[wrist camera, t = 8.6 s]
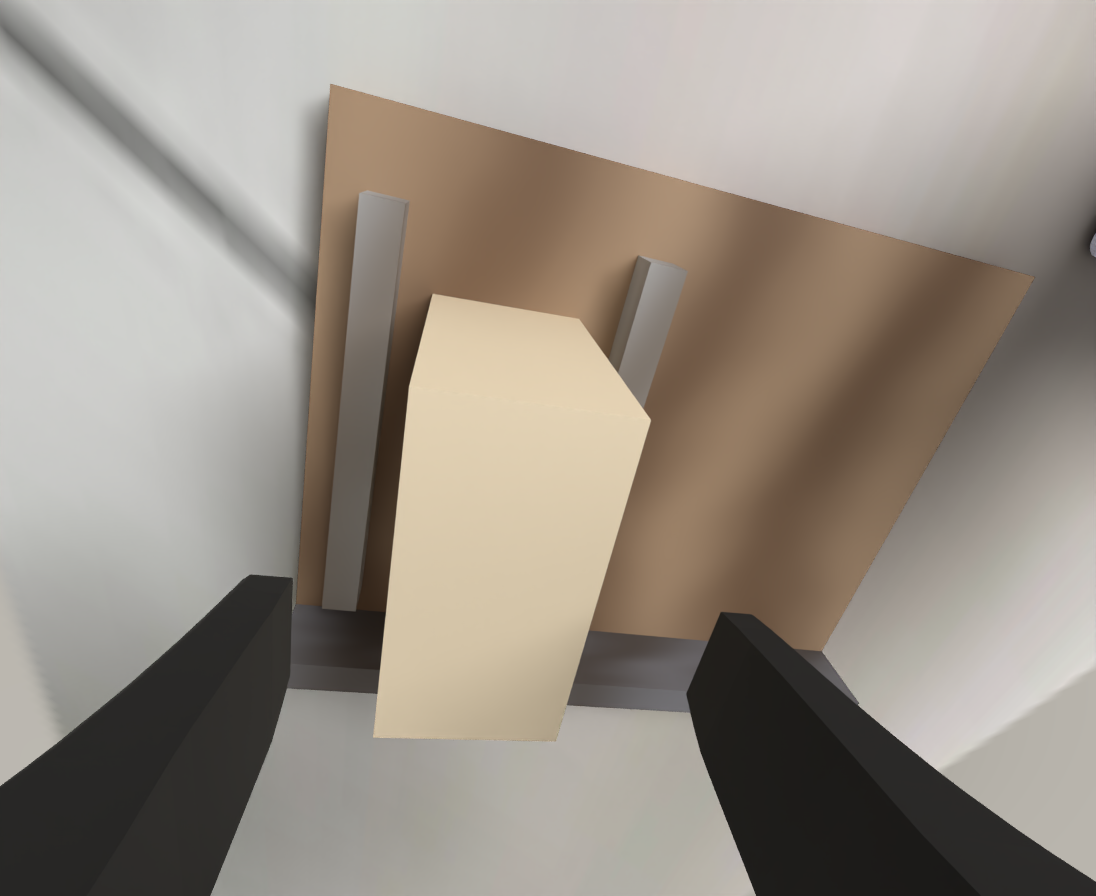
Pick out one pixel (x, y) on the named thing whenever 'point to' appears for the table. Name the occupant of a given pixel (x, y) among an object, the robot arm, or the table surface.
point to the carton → (501, 522)
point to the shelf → (632, 384)
